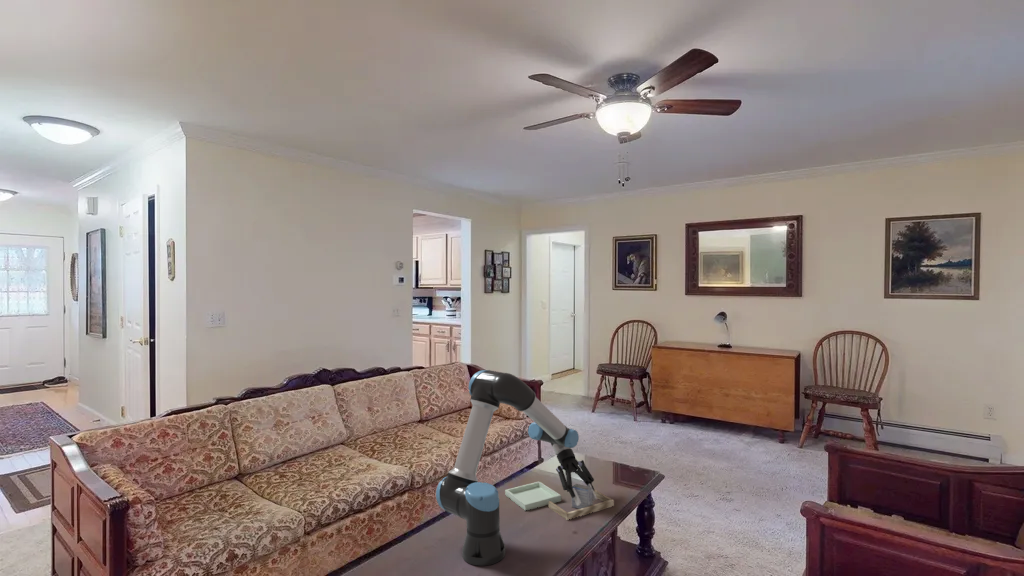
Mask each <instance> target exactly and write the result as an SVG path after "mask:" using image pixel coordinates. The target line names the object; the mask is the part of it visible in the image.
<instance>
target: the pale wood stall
mask: <svg viewBox="0 0 1024 576" xmlns="http://www.w3.org/2000/svg"><path fill="white" fill-rule="evenodd" d="M594 490H595V491H594V493H595V495H596V497H597V499H599V501H602V502H598V503H595V504H593V505H591V506H588V507H585V508H581V509H578V508H577V509H575V510H572V511H568V512H567V511H566V510H565V509H563V508H562V507H560V506H559V505H557V504H556V503H553V502H551V501H549V504H548V508H549V509H550V510H551V511H552V512H554V513H556V514H557V513H558V515H559V516H560V517H561V518H563V519H564V518H565V519H564V520H565V521H570V520H573V519H576V518H575V517H577V518H579V517H578V516H580V517H582V515H583V516H586V515H590V514H592V512H593V513H596V512H599V511H603V510H605V509H610V508H613V507H615V500H614V499H612V498H610V497H609V496H607V495H605V494H604V493H602V492H600V491H599V490H596V489H595V488H594ZM612 506H613V507H612ZM589 513H590V514H589ZM572 518H573V519H572ZM569 519H570V520H569Z"/></svg>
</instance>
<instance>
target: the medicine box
mask: <svg viewBox="0 0 1024 576" xmlns="http://www.w3.org/2000/svg"><path fill="white" fill-rule="evenodd" d="M573 488H575V490H576V492H577V494H578V497H579V499H580V501H581V504H580V505H579V506H577V505H576V502H575V500H574V498H572V497H571V508H575V509H577V510H578V509H581V508H585V507H588V506H591V505H594V501H593V494H592V487H589V486H587V485H584V484H579V483H575V484H573V485H572V489H573Z"/></svg>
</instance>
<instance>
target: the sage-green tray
mask: <svg viewBox="0 0 1024 576" xmlns="http://www.w3.org/2000/svg"><path fill="white" fill-rule="evenodd" d="M504 493H505V494H504V495H506V496H505V497H507V498H508V499H509V498H510V499H511V500H510V499H509V500H510V501H512V502H513V503H514V502H515V503H514V504H516V505H517V506H518V507H519V506H520V507H519V508H521V509H522V510H523V509H524V510H523V511H525V512H526V510H527V511H531V510H534V509H538V508H540V507H544V506H549V501H551V502H553V503H554V504H556V503H560V502H562V495H561V494H560V493H558V492H557V491H555V490H554V489H552V488H551V487H549V486H547V485H545V484H544V483H543V482H541V481H535V482H532V483H531V482H530V483H527V484H523V485H519V486H516V487H512V488H508V489H505V490H504ZM537 507H538V508H537ZM530 509H531V510H530Z"/></svg>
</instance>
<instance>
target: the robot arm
mask: <svg viewBox="0 0 1024 576" xmlns="http://www.w3.org/2000/svg"><path fill="white" fill-rule="evenodd" d="M468 390H469V395H470V398H469V399H470V401H469V402H471V405H472V407H471V410H470V413H469V417H468V418H467V419H468V420H467V423H466V425H465V426H466V427H465V430H464V432H463V437H462V440H461V443H460V446H459V450H458V453H457V455H456V456H457V457H456V460H455V464H454V467H453V468H452V469H450V470H449V471H448V472H447V475H446V476H445V477H443V478H442V479H441V480H440V481H439V482H438V484H437V486H436V490H435V498H436V502H437V505H438V506H439V507H440V509H442V510H444V511H445V512H447V513H448V514H452V515H454V516H456V517H458V518H461V519H464V520H465V521H466V522H465V523H466V535H465V538H464V542H463V545H462V548H461V549H462V550H461V552H462V553H461V554H462V558H463V559H462V560H464V561H465V562H466V563H468V564H469V565H472V566H477V567H478V566H481V567H482V566H483V567H485V566H492V565H494V564H496V563H498V562H500V561H502V560H503V559H504V558H505V556H506V544H505V541H504V539H503V536H502V533H501V529H500V528H501V527H500V526H501V525H500V521H501V520H500V519H501V518H500V498H499V491H498V489H497V487H495V486H494V485H493V484H491V483H488V482H482V481H479V479H478V478H477V472H478V467H479V464H480V460H481V457H482V454H483V450H484V446H485V442H486V440H487V436H488V433H489V430H490V426H491V422H492V418H493V415H494V412H495V411H497V410H499V408H500V406H501V405H500V404H505V405H508V406H511V407H513V408H514V409H515V410H517V411H518V412H523V413H524V414H525V415H526V416H527V417H529V419H530V420H532V421H533V422H531V423H530V424H529V426H528V431H527V433H528V436H529V438H530V439H532V440H535V441H542V442H546V443H550V445H551V447H552V449H553V451H554V454H555V455H556V458H557V460H558V463H559V464H560V465H558V466H557V467H556V469H555V470H556V472H557V474H558V477H559V479H560V483H561V486H562V489H563V491H567V492H569V495H570V497H571V499H572V498H574V500H575V502H576V505H577V506H579V505H580V504H581V501H580V499H579V497H578V494H577V492H576V490H575V488H573V489H572V486H573V481H572V480H573V479H572V473H575V475H577V476H578V477H579V478H580V479H581V481H583V483H584V484H585V486H589V487H592V494H593V502H595V501H596V500H597V499H598V498H597V497H596V495H595V493H594V491H595V490H596V489H595V488H594V486H593V482H594V481H595V478H594V477H593V475H592V474H591V472H590V471H589V469H588V468H587V466H586V464H585V461H584V460H583V459H581V461H580V460H577V458H576V454H575V452H574V451H573V449H572V448H575V447H576V446H577V445H578V442H579V438H580V435H579V433H578V431H577V430H576V429H573V428H568V426H566V425H565V424H564V423H563V422H562V421H561V420H560V418H558V417H557V416H556V415H555V414H554V413H553V412H552V411H551V410H550V409H549V408H548V407H547V406H546V405H545V404H544V403H543V402H541V401H540V399H539V398H538V397H537V395H536V393H535V391H534V390H533V389H532V388H531V387H530V386H529V385H528V384H527V383H525V382H524V381H523V380H522V379H521V378H519V377H518V376H516V375H514V374H511V373H509V372H501V371H496V370H490V369H488V370H485V369H482V370H479V371H477V372H475V373H474V374H473V375H472V377H470V380H469V383H468ZM564 471H565V473H564ZM594 489H595V490H594Z"/></svg>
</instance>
